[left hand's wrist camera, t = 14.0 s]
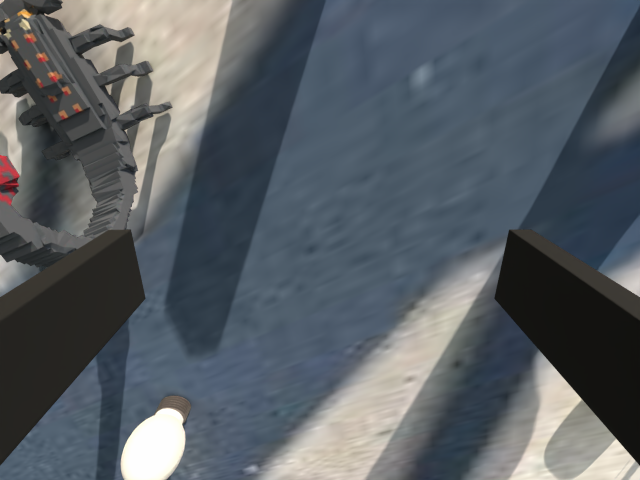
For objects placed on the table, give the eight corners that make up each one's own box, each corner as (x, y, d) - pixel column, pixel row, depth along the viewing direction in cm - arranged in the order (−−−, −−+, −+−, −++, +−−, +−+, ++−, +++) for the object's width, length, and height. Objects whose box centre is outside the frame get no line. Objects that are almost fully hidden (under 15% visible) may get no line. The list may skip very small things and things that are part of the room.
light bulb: (199, 389, 48) (167, 467, 38) (199, 425, 51) (169, 507, 40) (149, 384, 48) (103, 462, 38) (152, 420, 50) (109, 502, 40)
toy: (110, 234, 40) (-46, 337, 23) (-69, -34, 30) (-563, -201, 13) (216, 190, 38) (131, 266, 21) (58, -109, 29) (-327, -415, 12)
